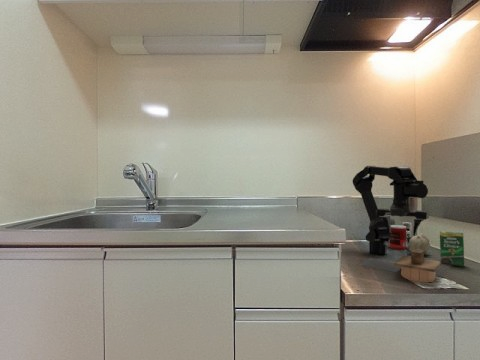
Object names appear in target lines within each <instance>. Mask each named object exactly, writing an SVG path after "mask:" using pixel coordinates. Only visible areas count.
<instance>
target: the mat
mask: <svg viewBox="0 0 480 360" xmlns="http://www.w3.org/2000/svg"><path fill="white" fill-rule="evenodd" d="M395 262H396V261H393V260H392V261H391V260H385V259H381V258H380V259H379V258H373V257H369V258H368V259H366V260H364V261H363V262H361V263H360V264H359V266H360V267H365V268H369V269H370V268H372V269H378V270H383V271H387V272H393V273H398V272H400V270H401V266H396V265H394V263H395Z"/></svg>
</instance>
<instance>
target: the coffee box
mask: <svg viewBox="0 0 480 360" xmlns="http://www.w3.org/2000/svg"><path fill="white" fill-rule="evenodd" d="M464 241H465V240H464V233H463V232H454V231H453V232H451V231H439V246H440V248H439V249H440V261H441V264H443V263H444V264H448V265H450V266H455V267H456V266H457V267H463V268H464V267H465V247H464V245H465V244H464V243H465V242H464Z"/></svg>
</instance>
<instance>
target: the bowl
mask: <svg viewBox="0 0 480 360" xmlns="http://www.w3.org/2000/svg"><path fill="white" fill-rule="evenodd" d="M400 270H401V272H400V273H401V276H402V278H404V279H406V280H409V281H414V282H419V283H431V282H435V281H436V271H435V272H431V271H425V270H419V269H413V268H407V267H401V269H400Z"/></svg>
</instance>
